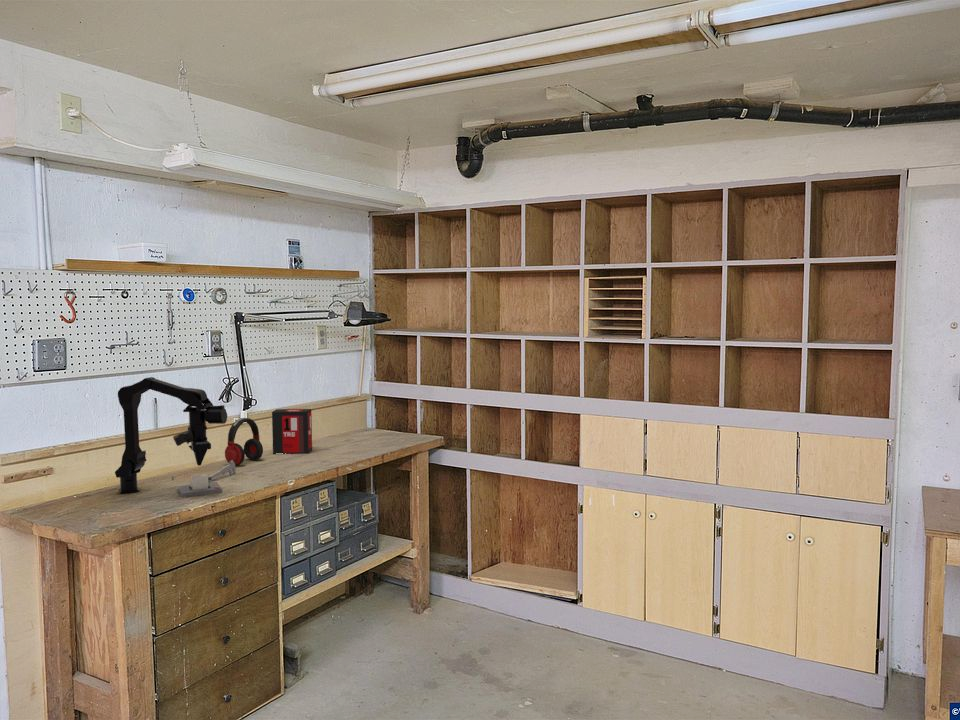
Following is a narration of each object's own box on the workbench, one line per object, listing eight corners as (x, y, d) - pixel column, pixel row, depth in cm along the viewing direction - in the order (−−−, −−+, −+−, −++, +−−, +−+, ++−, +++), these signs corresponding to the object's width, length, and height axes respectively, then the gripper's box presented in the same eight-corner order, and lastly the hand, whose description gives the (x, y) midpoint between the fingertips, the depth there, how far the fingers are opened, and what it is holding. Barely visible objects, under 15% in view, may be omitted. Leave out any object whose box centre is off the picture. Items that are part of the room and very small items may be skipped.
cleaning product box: (273, 454, 339) (271, 411, 338) (277, 450, 348) (276, 409, 347) (308, 453, 340) (307, 411, 338) (312, 450, 349) (311, 408, 347)
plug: (191, 491, 271) (190, 475, 271) (210, 488, 275) (210, 473, 274) (192, 494, 267) (192, 478, 267) (212, 491, 271) (212, 475, 270)
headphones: (239, 468, 310) (238, 421, 309) (221, 466, 314) (220, 420, 313) (266, 459, 326) (265, 416, 325) (248, 458, 330) (247, 414, 329)
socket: (177, 490, 272) (177, 484, 272) (216, 485, 279) (216, 480, 279) (182, 497, 262) (181, 491, 262) (222, 492, 269) (222, 486, 269)
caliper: (233, 474, 299) (233, 459, 299) (235, 474, 299) (235, 459, 298) (196, 485, 281) (196, 469, 280) (198, 486, 280) (198, 470, 280)
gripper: (171, 422, 273) (172, 462, 274) (177, 429, 257) (179, 472, 258) (202, 419, 278) (203, 459, 280) (210, 426, 262) (212, 468, 263)
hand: (199, 465), depth 270 cm, fingers closed
